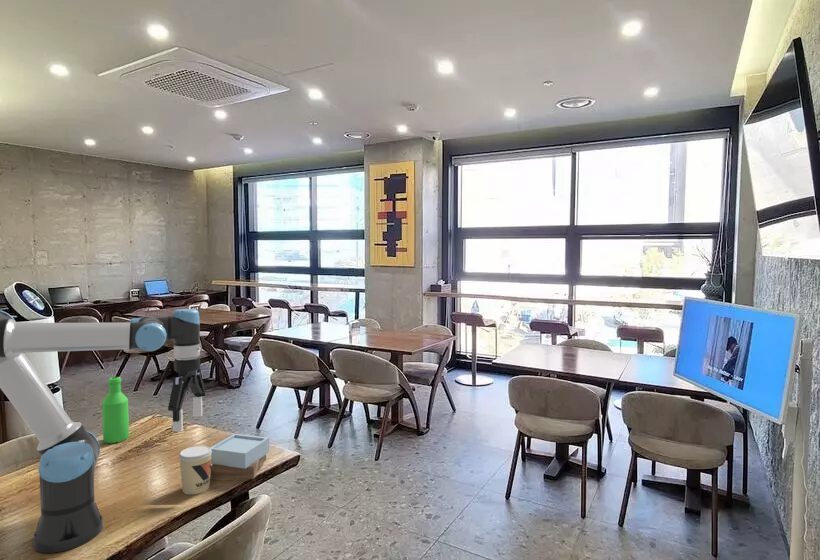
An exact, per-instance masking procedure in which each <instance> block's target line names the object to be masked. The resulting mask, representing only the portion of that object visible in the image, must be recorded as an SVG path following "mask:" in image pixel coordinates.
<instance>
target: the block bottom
mask: <svg viewBox="0 0 820 560" xmlns="http://www.w3.org/2000/svg"><path fill="white" fill-rule="evenodd" d="M266 461H267V454H266V455H264V456H263V457H261V458H260V459H258V460H257V461H256V462H254V463H253V464H251V465H250V466H249V467H247V468H246V469H244V468H237V467H230V466H223V465H216V464H211V472H210V481H231V480H233V481H235V480H254V479H255V478H256V476H257V474H258V473H259V471H260V470H261V468H262V467H263V465H264V463H266Z"/></svg>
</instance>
